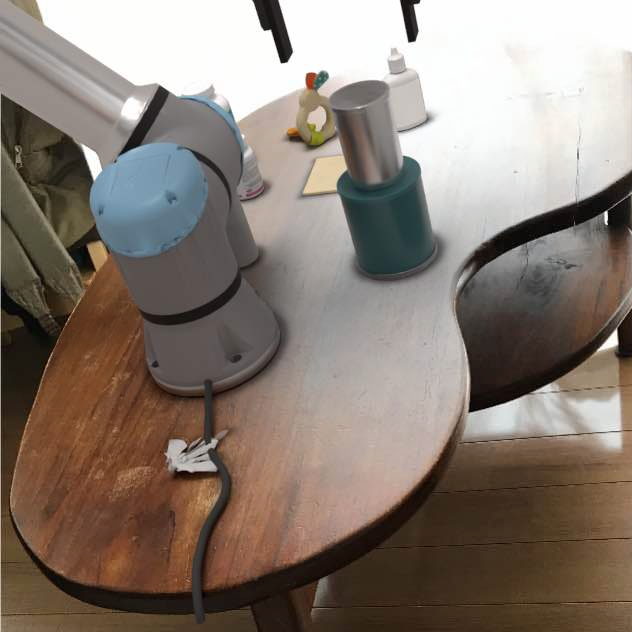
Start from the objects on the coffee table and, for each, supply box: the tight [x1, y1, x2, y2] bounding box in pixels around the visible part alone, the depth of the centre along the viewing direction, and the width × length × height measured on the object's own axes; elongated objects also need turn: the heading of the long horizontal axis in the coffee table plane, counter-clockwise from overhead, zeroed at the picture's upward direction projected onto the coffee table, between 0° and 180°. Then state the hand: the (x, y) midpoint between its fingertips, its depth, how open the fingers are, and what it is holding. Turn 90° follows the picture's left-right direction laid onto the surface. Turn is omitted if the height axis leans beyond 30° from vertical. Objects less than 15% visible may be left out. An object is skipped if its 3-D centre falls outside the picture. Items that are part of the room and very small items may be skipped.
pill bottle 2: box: [236, 133, 265, 201], centre depth 125 cm, size 5×5×8 cm
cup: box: [328, 79, 406, 191], centre depth 97 cm, size 7×7×10 cm
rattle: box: [285, 69, 336, 146], centre depth 133 cm, size 8×8×12 cm
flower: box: [164, 429, 230, 474], centre depth 87 cm, size 8×8×3 cm
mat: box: [302, 154, 347, 197], centre depth 125 cm, size 10×10×1 cm
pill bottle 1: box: [181, 79, 237, 124], centre depth 131 cm, size 8×7×14 cm
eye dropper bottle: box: [381, 45, 428, 132], centre depth 129 cm, size 4×6×12 cm
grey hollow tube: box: [226, 191, 260, 269], centre depth 111 cm, size 4×4×10 cm
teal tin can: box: [337, 154, 439, 281], centre depth 103 cm, size 10×10×11 cm
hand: (349, 48), depth 90 cm, fingers open, 13 cm apart
